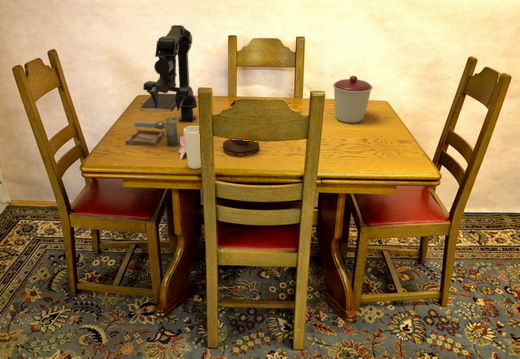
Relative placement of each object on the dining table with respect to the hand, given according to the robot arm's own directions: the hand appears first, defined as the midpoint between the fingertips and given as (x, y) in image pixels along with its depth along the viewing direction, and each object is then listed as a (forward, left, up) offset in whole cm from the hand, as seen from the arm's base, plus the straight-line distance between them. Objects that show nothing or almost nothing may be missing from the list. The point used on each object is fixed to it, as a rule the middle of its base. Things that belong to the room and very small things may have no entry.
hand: (167, 109), depth 186 cm
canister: (-41, +75, -14) cm, 87 cm away
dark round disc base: (+3, +31, -14) cm, 34 cm away
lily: (+11, +11, -15) cm, 21 cm away
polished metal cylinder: (+3, +2, -14) cm, 15 cm away
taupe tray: (0, -11, -15) cm, 18 cm away
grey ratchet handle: (-15, -16, -14) cm, 26 cm away
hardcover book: (-47, -21, -15) cm, 53 cm away
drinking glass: (+21, +17, -14) cm, 31 cm away
